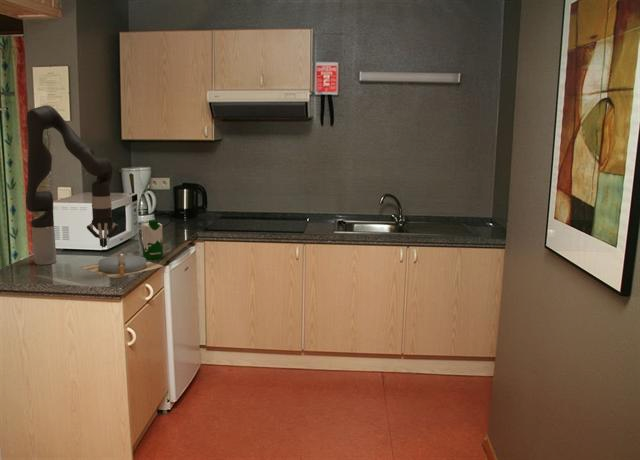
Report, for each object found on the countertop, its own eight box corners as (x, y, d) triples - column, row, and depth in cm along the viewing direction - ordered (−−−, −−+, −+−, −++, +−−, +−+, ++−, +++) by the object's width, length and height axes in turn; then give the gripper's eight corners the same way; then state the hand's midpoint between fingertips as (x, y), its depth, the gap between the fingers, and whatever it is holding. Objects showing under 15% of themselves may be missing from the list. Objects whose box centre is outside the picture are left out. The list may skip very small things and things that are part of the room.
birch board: (79, 270, 240) (79, 258, 239) (130, 259, 261) (130, 248, 260) (113, 281, 225) (113, 268, 224) (165, 269, 246) (165, 257, 245)
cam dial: (100, 262, 248) (99, 245, 246) (146, 260, 254) (145, 243, 252) (96, 274, 229) (95, 256, 227) (146, 271, 235) (145, 253, 234)
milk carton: (147, 263, 254) (145, 222, 251) (140, 259, 261) (139, 219, 258) (165, 261, 260) (164, 220, 256) (158, 257, 267) (157, 217, 263)
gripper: (84, 208, 220) (86, 249, 223) (118, 207, 225) (120, 248, 228) (84, 205, 227) (87, 245, 230) (118, 204, 232) (120, 244, 235)
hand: (103, 246), depth 229 cm, fingers closed
